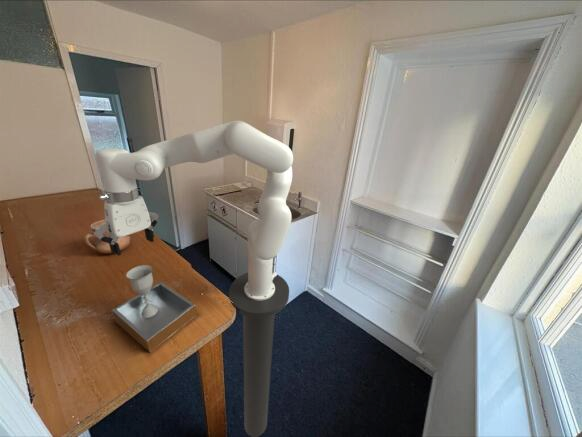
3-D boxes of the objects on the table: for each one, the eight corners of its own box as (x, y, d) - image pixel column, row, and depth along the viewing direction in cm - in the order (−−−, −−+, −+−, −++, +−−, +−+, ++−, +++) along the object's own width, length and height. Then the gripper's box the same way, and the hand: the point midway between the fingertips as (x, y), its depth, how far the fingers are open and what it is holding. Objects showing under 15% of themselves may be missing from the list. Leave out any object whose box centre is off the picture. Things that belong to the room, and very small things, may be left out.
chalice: (143, 323, 78) (131, 282, 71) (134, 312, 82) (122, 272, 74) (164, 310, 84) (156, 271, 76) (155, 301, 87) (146, 262, 80)
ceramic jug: (129, 237, 125) (123, 213, 119) (138, 248, 117) (132, 223, 111) (86, 249, 113) (77, 223, 107) (93, 263, 105) (84, 235, 98)
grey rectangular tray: (163, 292, 92) (160, 281, 90) (196, 315, 84) (195, 304, 81) (115, 321, 79) (111, 310, 76) (150, 352, 70) (146, 341, 68)
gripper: (91, 207, 56) (108, 264, 63) (160, 191, 70) (168, 239, 77) (77, 199, 59) (95, 254, 67) (146, 185, 73) (154, 232, 80)
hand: (134, 246), depth 72 cm, fingers open, 9 cm apart
